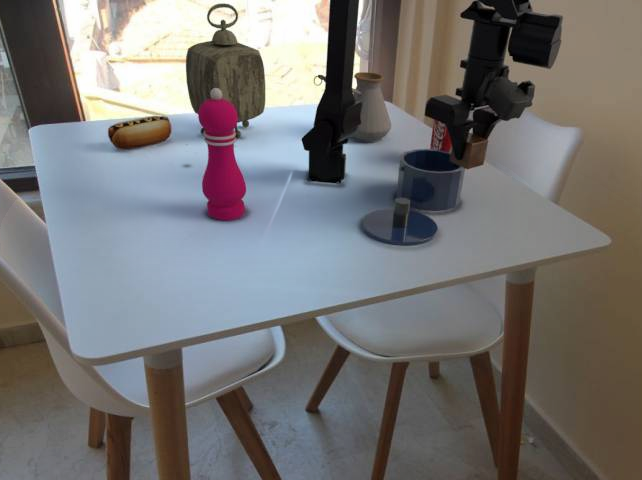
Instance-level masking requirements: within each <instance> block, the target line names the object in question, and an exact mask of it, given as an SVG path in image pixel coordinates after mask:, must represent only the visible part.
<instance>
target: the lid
mask: <svg viewBox="0 0 642 480" xmlns="http://www.w3.org/2000/svg"><path fill="white" fill-rule="evenodd" d="M393 205H394V206H393V208H382V209H377V210H374V211H372V212H370V213H368V214H366V215H365V216H364V217H363V219H362V223H361V225H362V229H363V231H364V232H365V233H366V234H367V235H368V236H369V237H371V238H372V239H374V240H377V241H379V242H383V243H386V244H389V245H390V244H391V245H397V246H416V245H421V244H424V243H428V242H430V241H432V240H434V239H435V238H436V236H437V235H438V234H437V233H438V225H437V223H436V221H435V220H434V219H433V218H431V217H430V216H428V215H427V214H423V213H421V212H418V211H416V210H412V209H411V207H410V200H409V199H407V198H397V197H396V198H395V199H394V204H393Z"/></svg>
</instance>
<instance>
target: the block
mask: <svg viewBox="0 0 642 480" xmlns="http://www.w3.org/2000/svg"><path fill="white" fill-rule="evenodd" d="M488 145H489V139H484V138H482V137H480V136H477V135H475V134H473V132H469V135H468V139H467V143H466V147H465V151H464V154H463V157H462V160H458V159H456V158H455V155H454V151H453V147H452V149H451V155H450V162H452V163H455V164H457V165H459V166H461V167H463V168H465V170H470V169H474V168H477V167H481V166H484V165H485V159H486V156H487V155H486V154H487V149H488Z"/></svg>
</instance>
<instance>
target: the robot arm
mask: <svg viewBox="0 0 642 480" xmlns="http://www.w3.org/2000/svg"><path fill="white" fill-rule="evenodd" d="M359 7H360V0H329V9H328V25H327V26H328V27H327V28H328V30H327V45H326V47H327V48H326V63H325V65H326V67H325V76H326V81H325V82H324V90H323V93H322V95H321V97H320V100H319V102H318V105H317V107H316V110H315V116H314V120H313V127H312V128H311V129H310V130H309V131H308V132H306V134H304V135H303V136H302V137H301V143H302V147H303V150H304V151H307V152H308V177H307V179H306V181H308V182H316V183H327V184H337V185H339V184H341V183H342V180H344V179H345V176H346V163H347V162H346V161H347V154H346V153H344V145H346V144H348V143H349V141H350V139H351V138H350V136H352V135H353V134H354V133H355V132H356V130H357V127H358V125H360V124H361V119H360V113H361V109H362V102H360V101H355V98H354V95H353V94H354V93H353V92H352V88H353V81H354V78H353V77H354V68H355V57H356V56H355V55H356V44H357V34H358V33H357V32H358V20H359V19H358V18H359ZM459 17H460V18H461V19H463V20H468V21H469V20H470V21H473V22H472V26H471V33H470V38H469V45H468V50H467V56H466V59H460V64H459V68H461V69H464V73H463V79H462V85H461V87H456V88H455V93H454V95H455V96H457V97H460V99H459V98H456V97H453V96H451V95H448V94H442V95H436V96H431V97H430V98H428V100H427V101H426V102H425V108H424V116H425V117H427V118H429V119H432V120H433V121H434V120H436V121H439V122H441V123H444V124H445V125H446V127H447V130H448V133H449V136H450V140H451V143H452V147H453V151H454V155H455V158H456V159H458V160H462V157H463V154H464V151H465V147H466V143H467V139H468V135H469V133H470V131H471V130H472V134H475V135H477V136H480V137H482V138H484V139H487V140H489V137H490V136H491V134H492V132H493V130H494V128H495V127H496V125H497V124H499V123H501V122H502V121H503V122H508V121H510V120H513V119H520V118H521V117H522V115H523V113H524V111H525V110H526V109H527V108H530V107H532V106H533V100H534V97H535V90H536V85H535V84H534V83H533V82H532V81H531V80H525V81H521V82H520V83H519V84H518V82H517V81H511V80H510V78H509V74H510V69H509V67H510V66H509V65H507V64H504V63H505V58H506V54H507V52H508V57H512V61H513V63H518V64H524V65H527V66H528V65H529V66H532V67H533V66H534V67H538V68H541V69H542V68H543V69H547V70H551V69H552V68H553V66H554V64H555V62H556V60H557V57H558V55H559V51H560V49H561V44H562V32H563V31H562V30H563V28H562V24H563V20H564V16H563V15H562V14H561V15H560V14H555V13H554V14H546V13H541V12H535V11H533V7H532V4H531V2H530V0H473V1H472V2H471V4H470V5H469V6H468V7H467V8H466V9H464V10H463V11H462V12H460V14H459Z"/></svg>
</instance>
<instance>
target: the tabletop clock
mask: <svg viewBox="0 0 642 480" xmlns="http://www.w3.org/2000/svg"><path fill="white" fill-rule="evenodd" d="M223 8H225V9H226V8H227V9H230V10H232V11H233V12H234V14H235V19H234V20H233V21H230V22H228V23H227V22H226V20H225V19H221V20H220V24H217V23H214V22H213V21H211V18H210V16H211V13H213V11H215V10H217V9H223ZM206 19H207V22H208V24H209V25H210V26H211V27H213V28H215V29H217V30H215V32H214V33H213V35H212V39H211V40H210V41H203V42H199V43H195V44H193V45H191V46H190V47H189V48H187V50H186V51H187V52H186V57H185V76H186V87H187V93H188V99H189V102H190V105H191V109H192V110H193V112H194V113H195V114H196V115H198V112H199V108H200V106H201V104H202V103H203V102H204V101H206V100H208V99H211V95H210V92H211V90H212V89H213V88H218V89H220V90H221V92H222V98H221V99H225V100H227V101H229V102H230V103H232V104H233V106H234V107H235V109H236V111H237V115H238V123H241V125H242V127H243V128H248V127H249V126H250V122H249V120H252V119H255V118H257V117H260V116H261V115H262V114H263V113H264V111H265V107H266V75H265V66H264V65H265V64H264V61H263V58H262V55H261V52H260V50H258V49H256V48H253V47H251V46H249V45H246V44H244V43H241V42H238V40H237V36H236V35H235V33H233V31H232V30H229V28H231V27H233V26H234V25H235V24H236V23H237V21H238V19H239V14H238V10H237V9H236V8H235V7H234V5H231V4H229V3H217V4H214V5H212V6H211V7H210V8H209V9H208V11H207V14H206ZM238 123H237V125H236V127H235V128H234V131H235V133H236V135H235V138H236V139H239V138H241V137H242V132H241V131H240V130H239V129H238ZM204 131H205V129H204V128H203V127H201V128H200V134H201V135H202V136H204V134H203V133H204Z"/></svg>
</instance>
